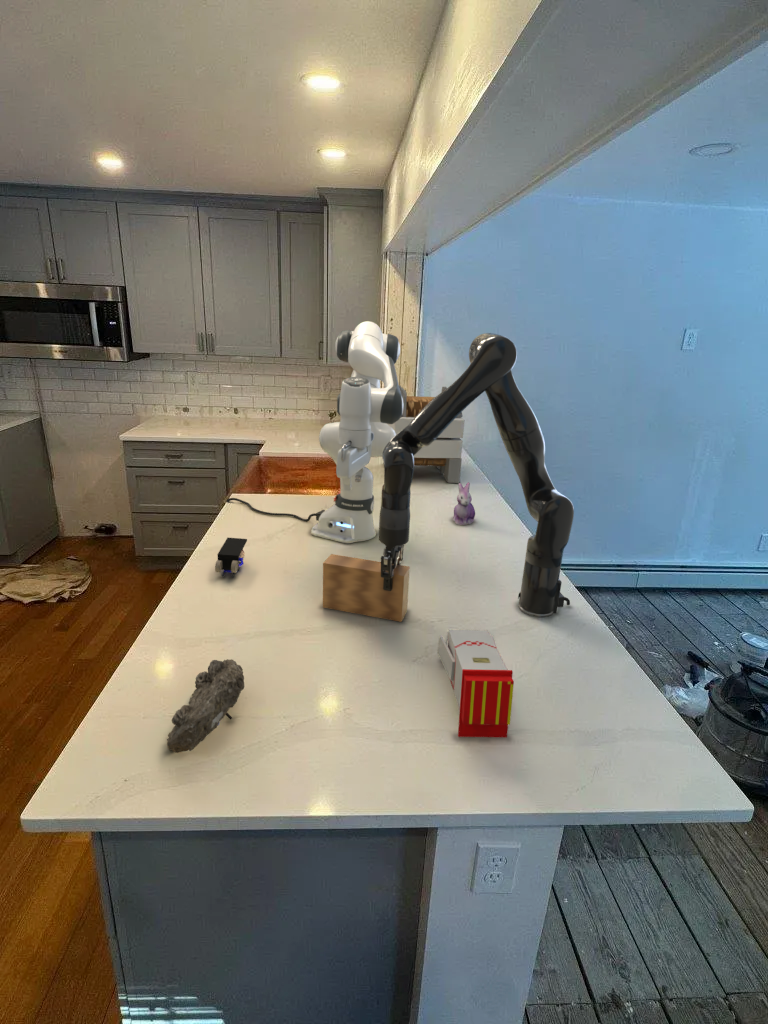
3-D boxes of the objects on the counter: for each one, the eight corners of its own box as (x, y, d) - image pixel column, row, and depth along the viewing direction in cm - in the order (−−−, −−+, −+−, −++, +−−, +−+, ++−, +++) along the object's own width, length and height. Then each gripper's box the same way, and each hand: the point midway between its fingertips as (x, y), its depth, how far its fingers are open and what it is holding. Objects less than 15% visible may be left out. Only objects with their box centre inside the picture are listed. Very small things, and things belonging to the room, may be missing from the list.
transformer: (382, 463, 289) (386, 382, 275) (445, 464, 293) (451, 384, 279) (390, 482, 257) (394, 392, 243) (460, 483, 261) (468, 394, 247)
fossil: (192, 660, 117) (244, 628, 112) (224, 691, 120) (276, 661, 115) (142, 746, 98) (202, 712, 93) (182, 779, 101) (242, 748, 96)
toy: (488, 613, 130) (523, 677, 101) (484, 667, 133) (517, 744, 104) (435, 612, 130) (455, 676, 101) (432, 666, 133) (451, 743, 103)
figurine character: (238, 584, 162) (249, 557, 175) (236, 562, 158) (247, 536, 172) (215, 584, 161) (227, 556, 175) (212, 561, 158) (225, 535, 171)
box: (322, 607, 149) (322, 562, 145) (330, 597, 155) (331, 553, 150) (401, 622, 144) (404, 576, 139) (407, 610, 149) (409, 566, 145)
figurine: (461, 527, 208) (464, 488, 203) (445, 518, 216) (448, 480, 211) (481, 524, 212) (485, 485, 207) (466, 515, 221) (469, 478, 216)
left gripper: (353, 446, 147) (352, 497, 151) (375, 432, 165) (373, 478, 170) (330, 444, 148) (330, 494, 153) (355, 430, 167) (353, 476, 171)
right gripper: (402, 535, 132) (398, 599, 137) (415, 515, 145) (411, 575, 150) (371, 531, 133) (368, 594, 139) (387, 511, 146) (384, 570, 152)
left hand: (353, 486), depth 161 cm, fingers open, 8 cm apart
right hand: (391, 584), depth 145 cm, fingers closed on box, 6 cm apart
